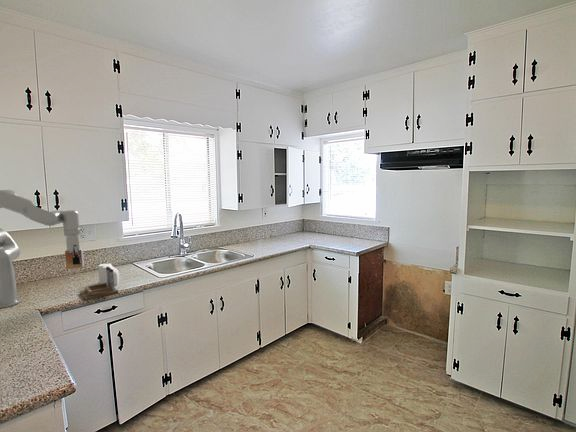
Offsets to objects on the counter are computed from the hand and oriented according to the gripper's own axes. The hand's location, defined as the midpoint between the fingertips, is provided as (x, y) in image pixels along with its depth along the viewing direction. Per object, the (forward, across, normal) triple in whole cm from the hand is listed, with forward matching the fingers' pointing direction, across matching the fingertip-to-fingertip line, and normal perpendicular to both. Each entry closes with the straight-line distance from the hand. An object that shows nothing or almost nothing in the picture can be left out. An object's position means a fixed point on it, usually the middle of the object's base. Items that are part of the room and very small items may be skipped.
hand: (75, 262), depth 184 cm
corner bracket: (+21, -15, +20) cm, 32 cm away
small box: (+3, 0, 0) cm, 3 cm away
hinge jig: (+20, +2, +10) cm, 23 cm away
